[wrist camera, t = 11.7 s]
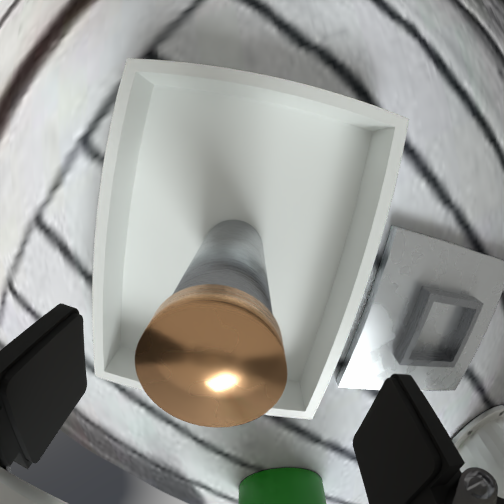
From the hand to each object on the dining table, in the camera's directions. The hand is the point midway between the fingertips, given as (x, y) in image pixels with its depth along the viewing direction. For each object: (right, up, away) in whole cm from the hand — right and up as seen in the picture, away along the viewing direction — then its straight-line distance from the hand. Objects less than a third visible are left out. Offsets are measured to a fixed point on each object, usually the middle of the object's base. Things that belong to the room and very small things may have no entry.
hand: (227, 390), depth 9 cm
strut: (-1, +4, +13) cm, 14 cm away
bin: (-1, +4, +14) cm, 14 cm away
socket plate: (+16, -2, +16) cm, 23 cm away
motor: (+4, -24, +22) cm, 33 cm away
